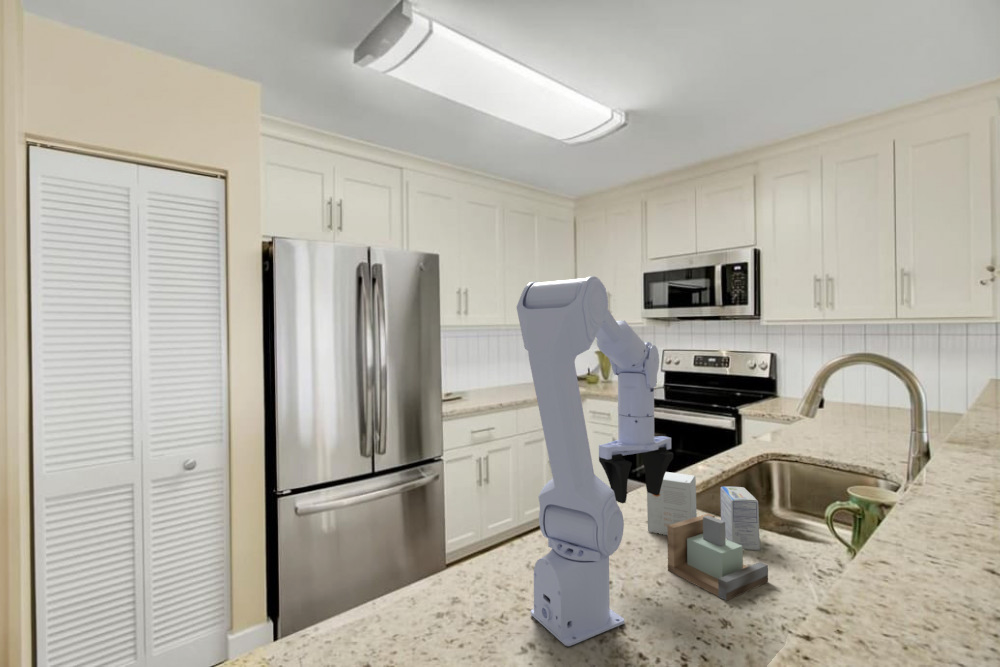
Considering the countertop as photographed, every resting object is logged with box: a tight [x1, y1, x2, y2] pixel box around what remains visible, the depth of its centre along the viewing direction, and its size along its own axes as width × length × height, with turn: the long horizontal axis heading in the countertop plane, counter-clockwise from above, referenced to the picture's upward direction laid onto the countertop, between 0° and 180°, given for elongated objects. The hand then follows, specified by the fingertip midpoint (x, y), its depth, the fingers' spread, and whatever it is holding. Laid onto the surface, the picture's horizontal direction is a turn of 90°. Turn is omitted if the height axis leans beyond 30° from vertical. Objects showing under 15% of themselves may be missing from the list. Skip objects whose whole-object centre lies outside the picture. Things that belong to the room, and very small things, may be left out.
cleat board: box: [667, 513, 769, 601], centre depth 72 cm, size 10×10×7 cm
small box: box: [646, 471, 698, 537], centre depth 89 cm, size 8×6×10 cm
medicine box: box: [719, 486, 761, 551], centre depth 84 cm, size 8×4×9 cm, turn 168°
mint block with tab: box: [687, 516, 744, 579], centre depth 72 cm, size 5×6×8 cm
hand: (636, 497), depth 77 cm, fingers open, 7 cm apart
